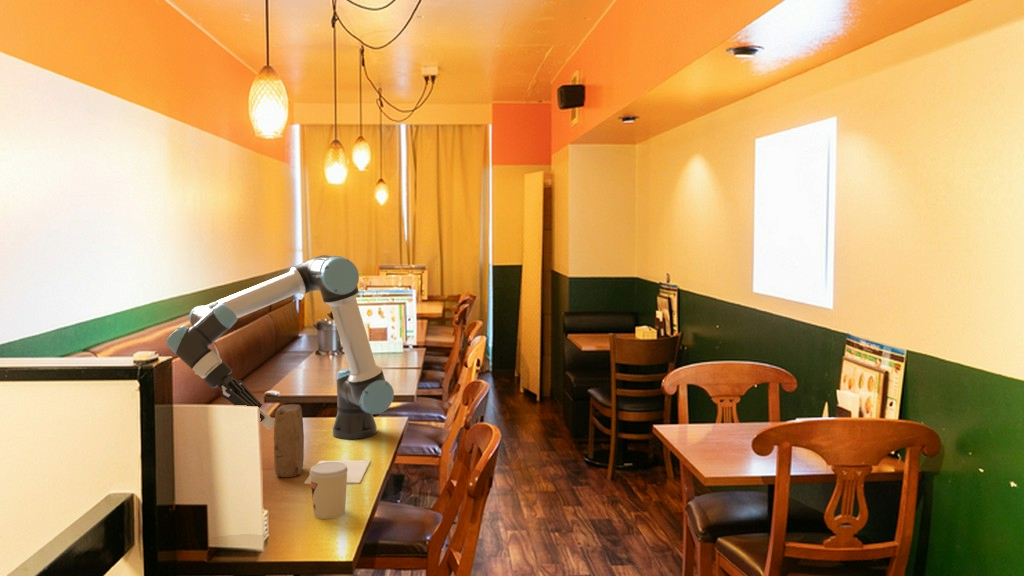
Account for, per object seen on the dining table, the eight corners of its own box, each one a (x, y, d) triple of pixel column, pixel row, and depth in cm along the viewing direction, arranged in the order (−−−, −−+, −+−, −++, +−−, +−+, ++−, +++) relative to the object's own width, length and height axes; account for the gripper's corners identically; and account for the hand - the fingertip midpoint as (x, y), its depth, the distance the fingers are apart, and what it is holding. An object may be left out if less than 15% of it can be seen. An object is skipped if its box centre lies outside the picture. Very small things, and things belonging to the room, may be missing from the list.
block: (298, 478, 219) (298, 410, 218) (272, 478, 219) (271, 410, 217) (306, 466, 230) (305, 401, 228) (281, 467, 230) (280, 401, 228)
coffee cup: (313, 507, 198) (313, 461, 197) (350, 506, 198) (349, 461, 197) (307, 520, 188) (306, 473, 187) (345, 519, 189) (345, 472, 188)
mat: (319, 462, 235) (319, 460, 235) (370, 461, 235) (370, 460, 235) (304, 484, 215) (304, 482, 215) (359, 483, 215) (359, 482, 215)
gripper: (212, 375, 227) (270, 429, 229) (195, 384, 214) (256, 441, 216) (229, 357, 227) (287, 412, 229) (214, 365, 214) (275, 423, 216)
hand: (272, 426), depth 223 cm, fingers closed
